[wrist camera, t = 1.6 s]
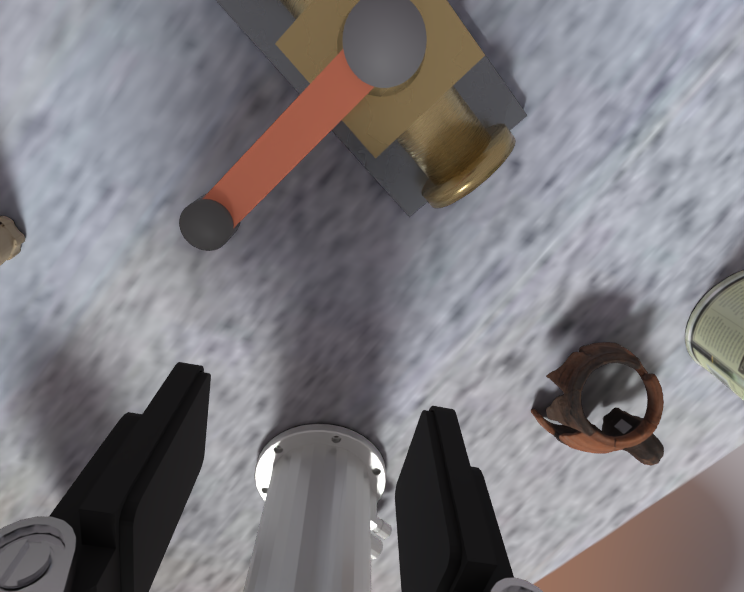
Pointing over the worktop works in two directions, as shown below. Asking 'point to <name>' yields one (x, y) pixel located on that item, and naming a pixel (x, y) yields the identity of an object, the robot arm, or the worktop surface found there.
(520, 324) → the worktop surface
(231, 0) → the valve
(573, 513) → the worktop surface
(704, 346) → the coffee can
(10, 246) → the handle
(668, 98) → the worktop surface
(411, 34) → the lever
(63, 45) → the worktop surface
